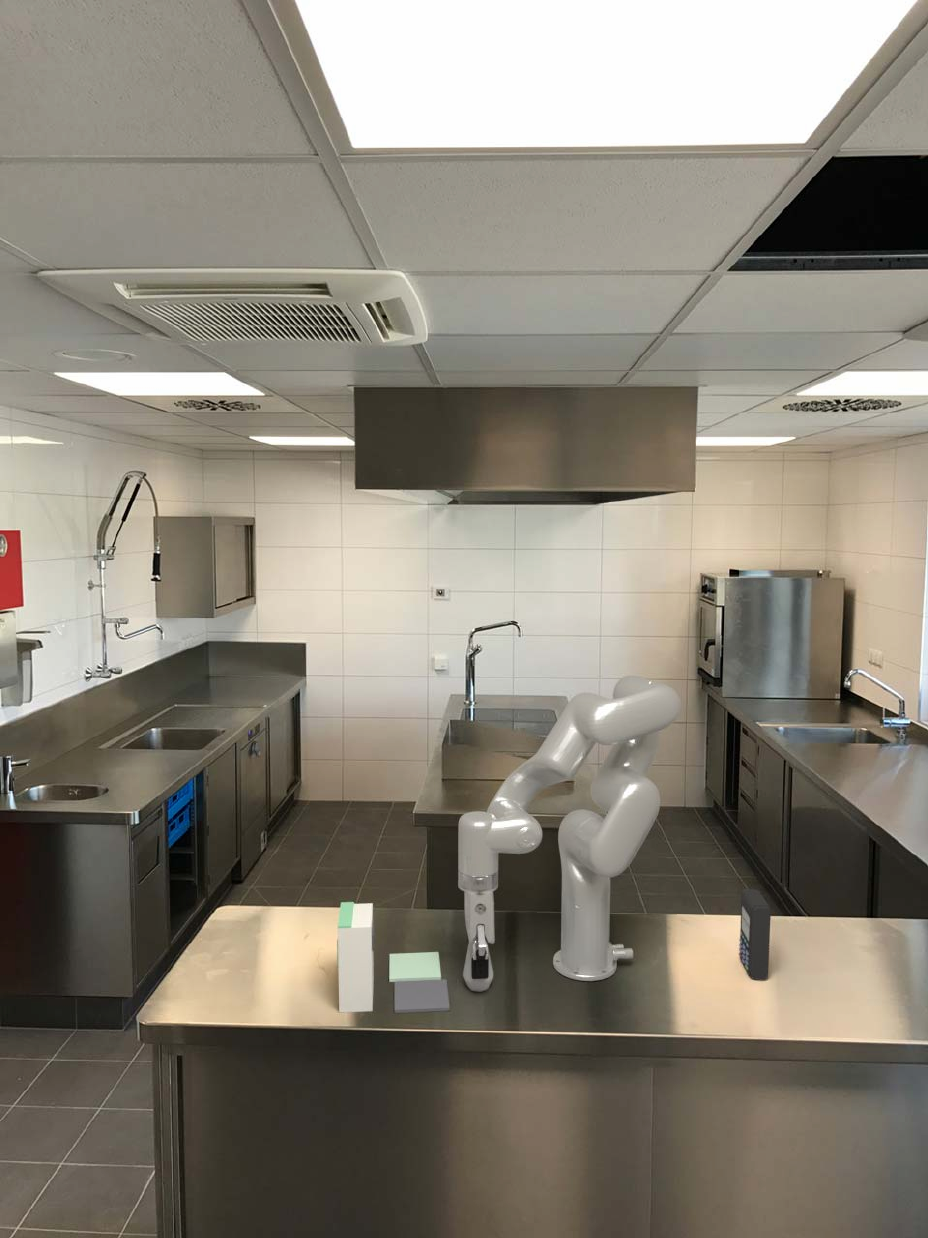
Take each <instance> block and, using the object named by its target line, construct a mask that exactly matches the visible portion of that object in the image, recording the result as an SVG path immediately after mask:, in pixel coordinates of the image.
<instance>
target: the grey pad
mask: <svg viewBox="0 0 928 1238" xmlns="http://www.w3.org/2000/svg"><path fill="white" fill-rule="evenodd" d="M449 999H450V998H449V989H448V982H447V979H445V978H444V979H442V978H441V980H418V981H395V982H394V1014H405V1013H406V1014H407V1013H408V1014H409V1013H425V1012H426V1013H427V1012H448V1011H449V1012H450V1000H449Z"/></svg>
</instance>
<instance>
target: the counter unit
mask: <svg viewBox="0 0 928 1238" xmlns="http://www.w3.org/2000/svg"><path fill="white" fill-rule="evenodd" d="M373 905H374V903H373V902H372V903H355V902H354V901H346V902H345V901H344V902H340V908H339V914H338V922H337V941H336V946H337V947H336V948H337V949H336V950H337V951H336V953H337V969H338V1005H339V1006H338V1009H339V1011H338V1012H339V1013H341V1014H342V1013H359V1012H361V1013H362V1012H364V1013H365V1012H373V1008H374V987H375V984H374V983H375V982H374V981H375V980H374V977H375V972H374V967H375V964H374V959H375V958H374V952H375V951H374V950H375V920H374V906H373Z"/></svg>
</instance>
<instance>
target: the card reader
mask: <svg viewBox="0 0 928 1238" xmlns="http://www.w3.org/2000/svg"><path fill="white" fill-rule="evenodd" d="M740 897H741V900H740V902H741V904H740V932H739V935H740V936H739V937H740V938H739V939H738V940H739V948H738V951H739V952H738V956H739V959H740V960H741V962H742V965H743V966H744V968H745V970H746V972H747V974H748V976H749V977H750V978H751V979H753V980H761V981H762V980H767V978H768V976H769V965H770V963H769V962H770V961H769V960H770V939H771V938H770V937H771V917H772V915H771V914H772V913H771V912H772V909H771V907H770V905H769V904H768V902H767V900H766V899H765V898H764V897H763V895H762V894H761V892H760V891H759V890H757V889H755V888H745V889H743V890H742V892H741V896H740Z"/></svg>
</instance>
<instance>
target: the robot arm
mask: <svg viewBox="0 0 928 1238" xmlns="http://www.w3.org/2000/svg"><path fill="white" fill-rule="evenodd" d="M681 710H682V701H681V698H680V696H679V694H678V692H677V691H676V690H675V689H673V687H671V686H669V685H667V684H664V683H661V682H658V681H655V680H652V679H650V678H647V677H646V678H645V677H643V676H642V677H641V676H639V675H626V676H623V677H621V678H620V679H619V680H618V681H617V682H616V683H615V686H614V687H613V692H612V698H611V699H610V698H607V697H604V696H602V695H599V694H596V693H591V692H580V693H577V694H576V695H574V696H573V697H572V698H571V699H570V700H569V702H568V703H567V705H566V706H565V707H564V710H563V711H562V713H561V714H560V716H559V717H558V719H557V720H556V722H555V723H554V725H553V727H552V729H551V730H550V732H549V733H548V734H547V737H546V738H545V739H544V741H543V743H542V745H541V746H540V747H539V748H538V750H537V752H536V753H535V754H534V755H532V756H531V757H530V758H529V759H527V760H526V761H525V762H523V763H522V764H520V766H519V767H517V768H516V769H514V770H513V771H512V772H511V773H510V775H508V776H507V777H506V779H505V780H504V781H503V782H502V784H501V785H500V787H499V788H498V789H497V791H496V793H495V795H494V796H493V798H492V800H491V802H490V804H489V805H488V807H487V810H486V811H481V810H480V811H478V810H477V811H470V812H466V813H464V814H462V815H461V816H460V818H459V821H458V827H457V829H458V833H457V834H458V835H457V836H458V837H457V839H458V842H457V843H458V845H457V846H458V847H457V848H458V849H457V852H458V861H457V862H458V867H457V869H458V876H457V877H458V881H457V885H458V886H457V887H458V888H459V890H461V891H463V892H464V893H463V894H464V921H465V927H466V935H467V946H466V947H467V949H468V943H470V944H472V947H473V957H471V977H472V979H487V978H488V977H489V957H488V948H489V944H491V945H493V944H495V941H496V939H495V937H496V936H495V935H496V934H495V901H494V891H496V890H497V889H498V888H499V854H511V855H512V854H513V855H514V854H515V855H516V854H517V855H522V854H523V855H524V854H528V853H531V852H533V851H534V850H536V849H537V848H538V847H539V846H540V844H541V843H542V841H543V840H542V839H543V829H542V827H541V824H540V823H539V822H538V820H537V819H536V818H535V817H534V816H532V815H531V814H529V813H528V812H527V811H526V810H527V808H528V807H529V805H530V804H531V803H532V801H533V799H534V798H535V797H536V796H537V795H538V794H539V793H540V792H542V790H543V791H544V789H546V788H547V787H549V786H552V785H556V784H559V783H564V782H567V781H570V780H573V778H575V777H576V775H577V774H578V772H579V771H580V769H581V767H582V766H583V764H584V763H585V761H586V760H587V758H588V756H589V754H590V753H591V751H592V749H593V748H594V746H596V744H599V745H602V746H611V748H610V750H609V752H608V753H607V755H606V756H605V758H604V760H603V761H602V763H601V766H600V767H599V769H598V771H597V773H596V774H595V776H594V778H593V780H592V782H591V785H590V789H589V792H590V797H591V799H592V801H593V802H594V803H595V804H596V805H597V806H598V807H599V808H600V809H601V810H603V811H605V812H606V813H607V814H606V816H605V817H603V816H601V815H600V814H599V813H596V812H595V811H592V810H588V809H581V808H580V809H575V810H572V811H571V812H569V813H568V814H566V815H565V816H564V817H563V819H562V820H561V823H560V825H559V828H558V834H557V836H558V838H557V840H558V841H557V842H558V851H559V855H560V856H559V857H560V865H561V866H560V867H561V915H560V916H561V917H560V918H561V919H560V921H561V923H560V924H561V925H560V927H561V931H560V932H561V933H560V937H561V938H560V950H558V951H557V952H555V954H554V955H553V959H552V964H553V967H554V969H555V970H556V971H557V972H558V973H559V974H560V975H562V976H564V977H567V978H568V979H572V980H575V981H581V982H582V981H583V982H594V981H601V980H605V979H607V978H610V977H611V976H612V975H614V974H615V973H616V971H617V967H618V965H617V964H618V963H617V961H618V960H619V959H626V960H627V959H629V960H630V959H633V958H634V950H633V948H632V947H628V948H625V947H624V944H623V943H616V944H612V943H611V942H610V924H611V923H610V920H611V919H610V916H611V915H610V912H611V911H610V909H611V878H615V877H617V876H619V875H621V874H622V873H624V871H626V870H627V868H628V867H629V866H630V865H631V864H632V862H633V860H634V858H635V857H636V855H637V853H638V851H639V850H640V848H641V847H642V845H643V843H644V842H645V840H646V837H647V836H648V834H649V832H650V830H651V829H652V827H653V826H654V823H655V821H656V820H657V817H658V815H659V812H660V806H661V796H660V795H661V794H660V791H659V789H658V787H657V786H656V785H655V783H654V782H653V781H652V780H651V779H649V778H648V777H647V775H648V773H649V772H650V770H651V767H652V766H653V764H654V761H655V760H656V758H657V755H658V752H659V750H660V749H659V748H660V741H661V740H660V737H661V735H660V731H663V730H665V729H667V728H669V727H670V726H672V725H673V724H674V723H675V722H676V721H677V720H678V719H679V716H680V714H681ZM477 938H478V941H475V939H477ZM487 943H488V945H487ZM476 945H478V949H477V950H476ZM467 949H466V950H467Z"/></svg>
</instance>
